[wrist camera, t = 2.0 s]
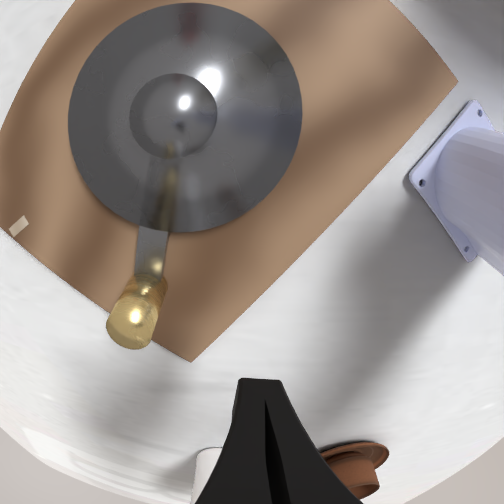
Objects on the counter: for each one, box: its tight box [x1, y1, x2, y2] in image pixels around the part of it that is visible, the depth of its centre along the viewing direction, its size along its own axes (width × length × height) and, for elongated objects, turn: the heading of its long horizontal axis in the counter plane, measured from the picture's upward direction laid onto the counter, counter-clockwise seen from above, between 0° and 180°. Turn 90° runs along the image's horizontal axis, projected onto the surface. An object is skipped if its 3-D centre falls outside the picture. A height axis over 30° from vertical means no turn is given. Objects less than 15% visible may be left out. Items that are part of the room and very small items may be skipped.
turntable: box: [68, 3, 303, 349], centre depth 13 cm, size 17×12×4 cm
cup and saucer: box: [320, 442, 389, 500], centre depth 29 cm, size 12×12×6 cm
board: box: [0, 0, 458, 362], centre depth 15 cm, size 20×26×1 cm
